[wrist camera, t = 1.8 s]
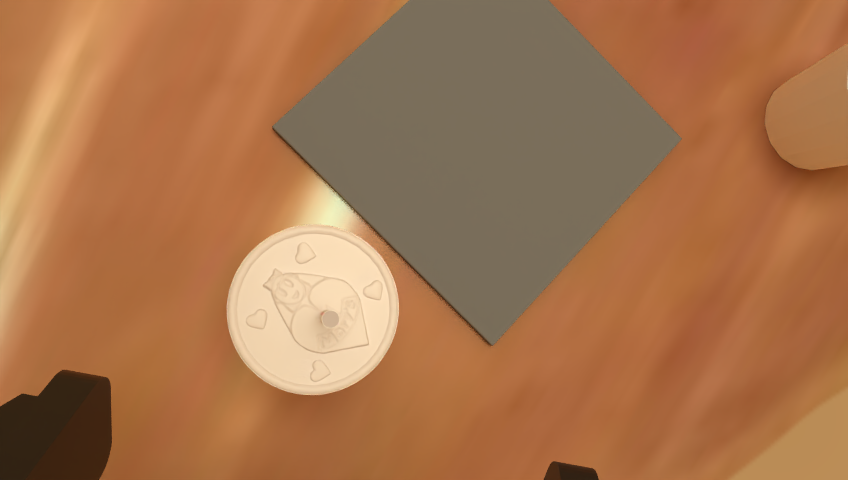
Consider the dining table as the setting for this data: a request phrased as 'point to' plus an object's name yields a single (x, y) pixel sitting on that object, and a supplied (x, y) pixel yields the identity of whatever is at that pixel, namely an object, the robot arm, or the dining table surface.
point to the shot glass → (812, 115)
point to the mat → (480, 146)
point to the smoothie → (312, 309)
